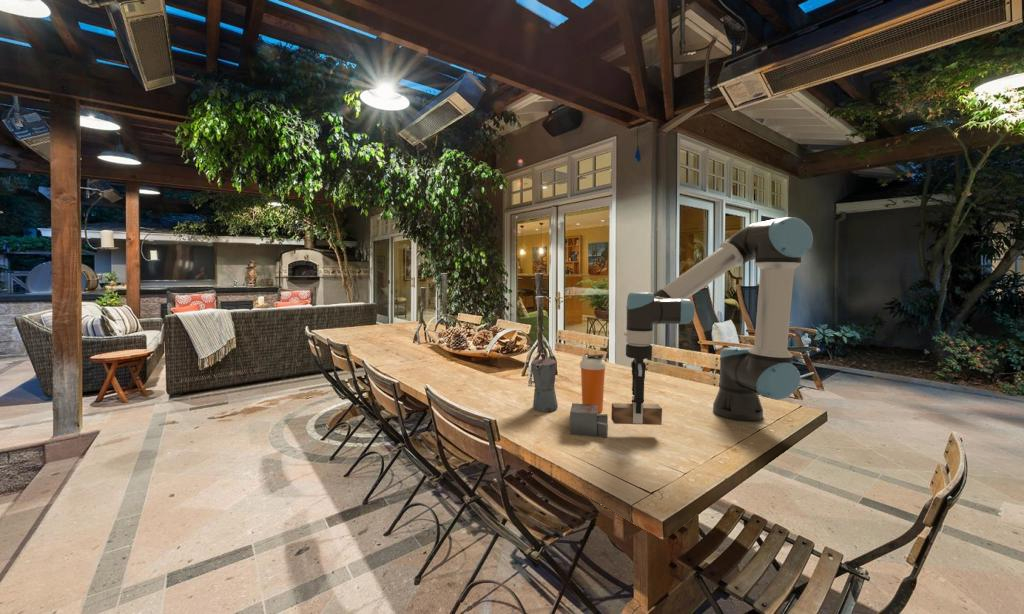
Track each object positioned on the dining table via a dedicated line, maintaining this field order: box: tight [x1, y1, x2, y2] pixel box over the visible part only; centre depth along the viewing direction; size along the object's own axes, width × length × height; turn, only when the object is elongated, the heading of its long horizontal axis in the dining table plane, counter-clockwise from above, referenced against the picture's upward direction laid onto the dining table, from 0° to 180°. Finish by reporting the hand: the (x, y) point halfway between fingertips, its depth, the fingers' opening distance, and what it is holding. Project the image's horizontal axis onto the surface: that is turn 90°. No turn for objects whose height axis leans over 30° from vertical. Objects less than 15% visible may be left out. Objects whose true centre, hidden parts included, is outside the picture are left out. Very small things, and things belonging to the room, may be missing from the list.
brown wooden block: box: [611, 402, 663, 426], centre depth 123 cm, size 14×4×5 cm, turn 88°
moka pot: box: [531, 354, 559, 413], centre depth 147 cm, size 10×15×20 cm, turn 158°
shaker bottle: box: [579, 353, 607, 414], centre depth 145 cm, size 9×9×20 cm
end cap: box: [569, 402, 609, 438], centre depth 126 cm, size 11×10×7 cm
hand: (637, 419), depth 123 cm, fingers closed on brown wooden block, 5 cm apart
